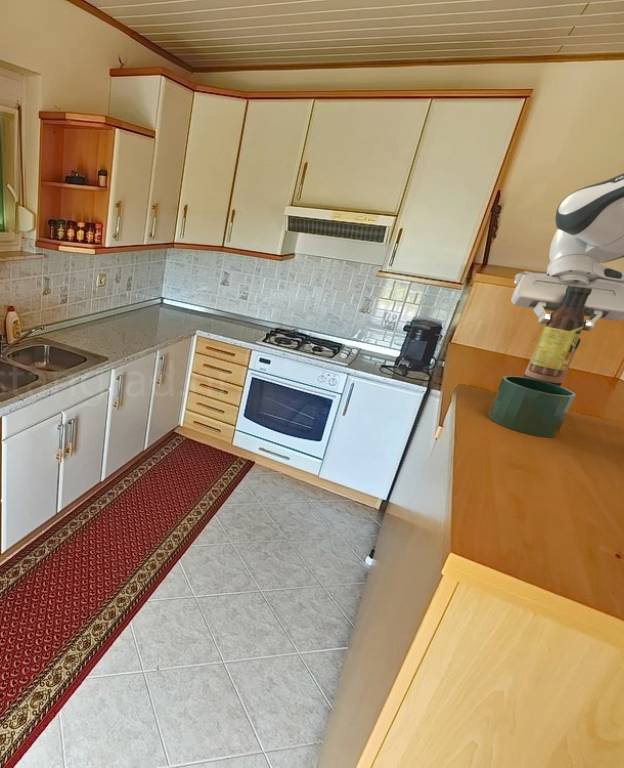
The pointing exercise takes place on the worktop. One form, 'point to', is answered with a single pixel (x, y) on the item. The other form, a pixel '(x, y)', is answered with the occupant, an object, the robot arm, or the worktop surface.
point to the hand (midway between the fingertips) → (565, 325)
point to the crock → (530, 406)
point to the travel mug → (550, 379)
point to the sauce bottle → (561, 334)
